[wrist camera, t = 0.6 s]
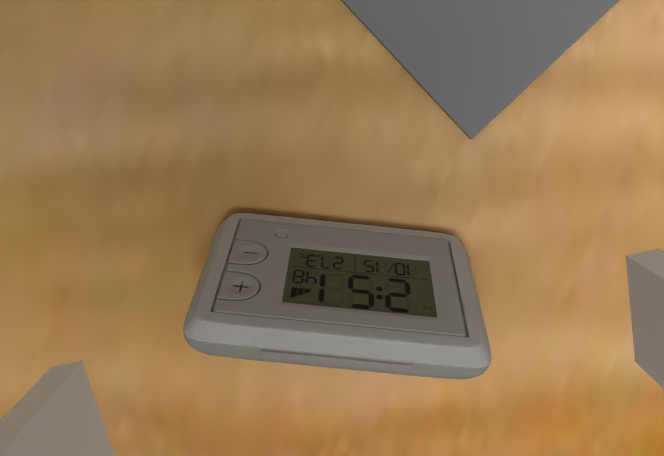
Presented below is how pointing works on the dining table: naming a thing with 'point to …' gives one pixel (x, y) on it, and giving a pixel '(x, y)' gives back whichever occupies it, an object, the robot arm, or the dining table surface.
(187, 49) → the dining table surface
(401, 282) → the digital clock
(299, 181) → the dining table surface
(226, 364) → the dining table surface
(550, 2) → the mat
